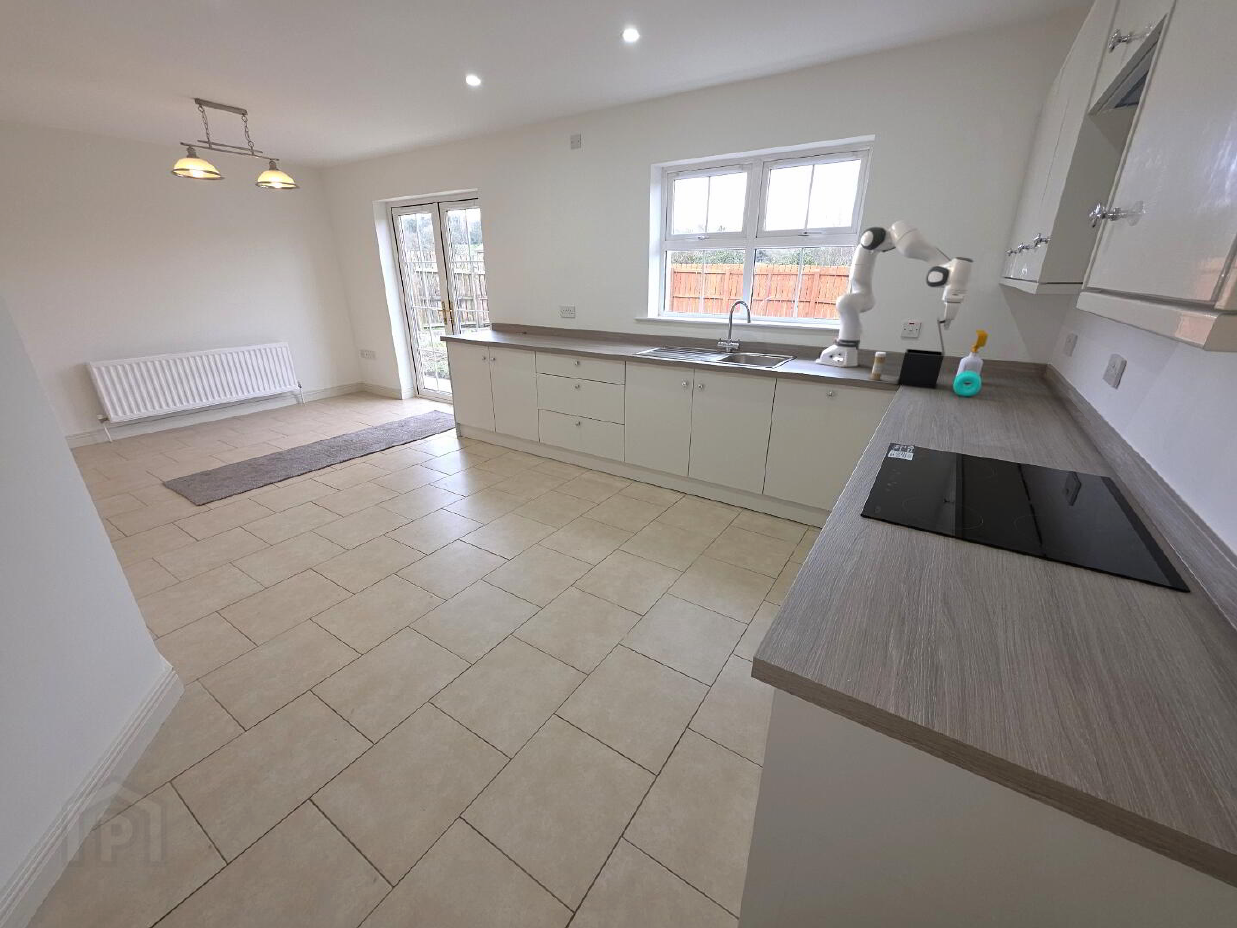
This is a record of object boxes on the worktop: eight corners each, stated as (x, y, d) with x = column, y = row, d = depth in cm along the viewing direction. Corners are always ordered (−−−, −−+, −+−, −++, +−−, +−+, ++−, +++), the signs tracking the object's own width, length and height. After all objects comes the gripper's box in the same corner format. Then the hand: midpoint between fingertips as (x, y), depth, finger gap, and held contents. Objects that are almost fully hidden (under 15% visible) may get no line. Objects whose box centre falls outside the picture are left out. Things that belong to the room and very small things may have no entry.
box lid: (937, 319, 217) (950, 316, 214) (937, 317, 227) (949, 313, 224) (943, 355, 220) (956, 352, 218) (942, 351, 230) (955, 348, 227)
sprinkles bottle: (872, 377, 247) (878, 351, 241) (882, 379, 243) (888, 352, 238) (868, 379, 244) (874, 352, 239) (877, 380, 241) (883, 353, 235)
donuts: (977, 393, 219) (984, 371, 215) (977, 398, 211) (984, 376, 207) (951, 390, 224) (957, 369, 220) (950, 395, 216) (956, 373, 212)
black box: (897, 384, 234) (905, 352, 228) (899, 379, 244) (906, 348, 238) (935, 388, 226) (943, 356, 220) (935, 383, 236) (943, 351, 230)
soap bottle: (970, 379, 244) (985, 329, 234) (980, 384, 236) (996, 332, 226) (951, 379, 245) (965, 329, 235) (961, 383, 236) (976, 332, 227)
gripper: (945, 295, 226) (937, 325, 231) (946, 298, 210) (937, 330, 215) (961, 295, 223) (953, 326, 228) (963, 298, 207) (954, 331, 212)
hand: (945, 328), depth 222 cm, fingers open, 8 cm apart
